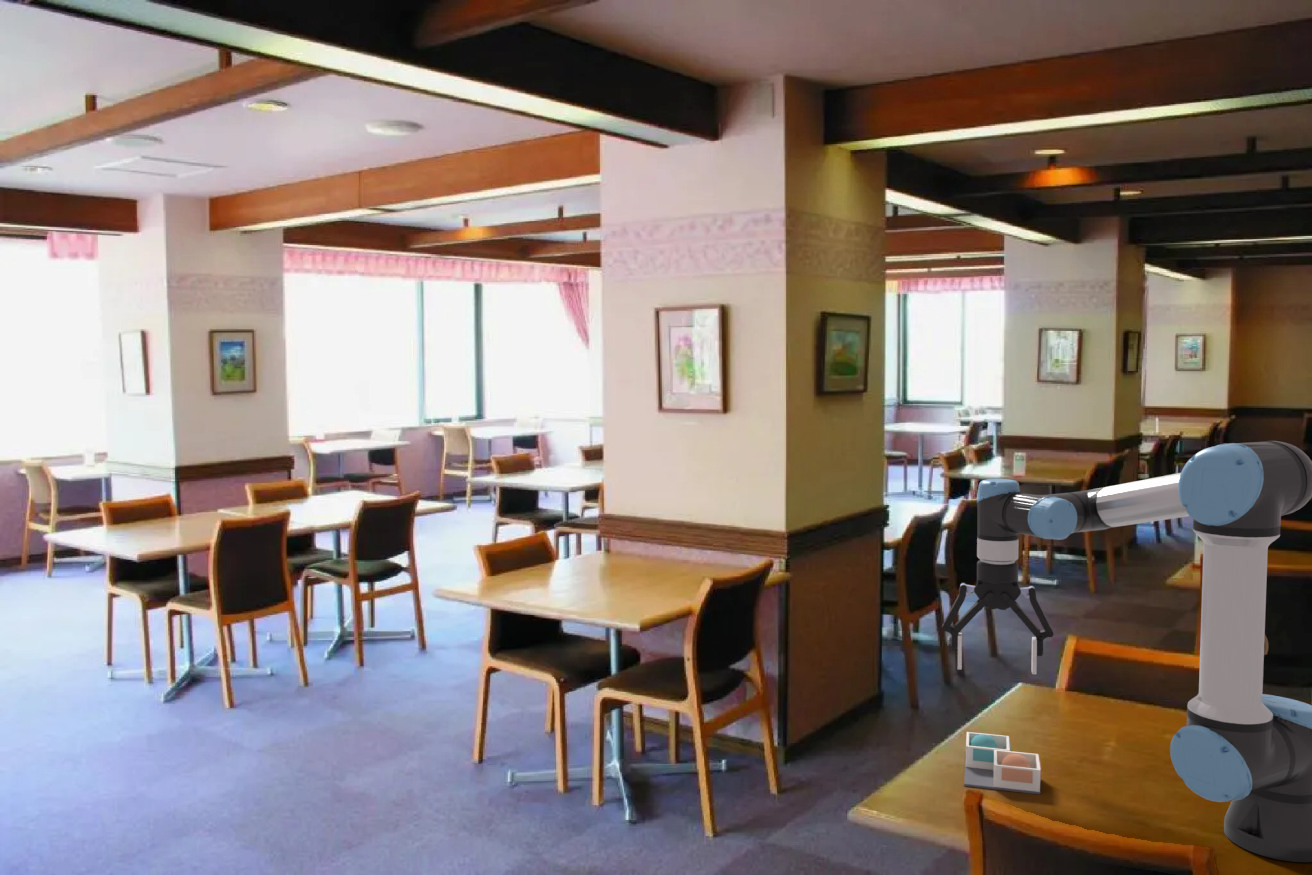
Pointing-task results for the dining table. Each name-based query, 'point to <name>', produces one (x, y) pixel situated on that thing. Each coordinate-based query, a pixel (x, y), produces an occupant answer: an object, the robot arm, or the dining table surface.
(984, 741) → the ball teal
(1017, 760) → the ball terracotta
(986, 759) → the white square bin
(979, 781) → the mat
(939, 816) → the dining table surface
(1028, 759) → the white square box
